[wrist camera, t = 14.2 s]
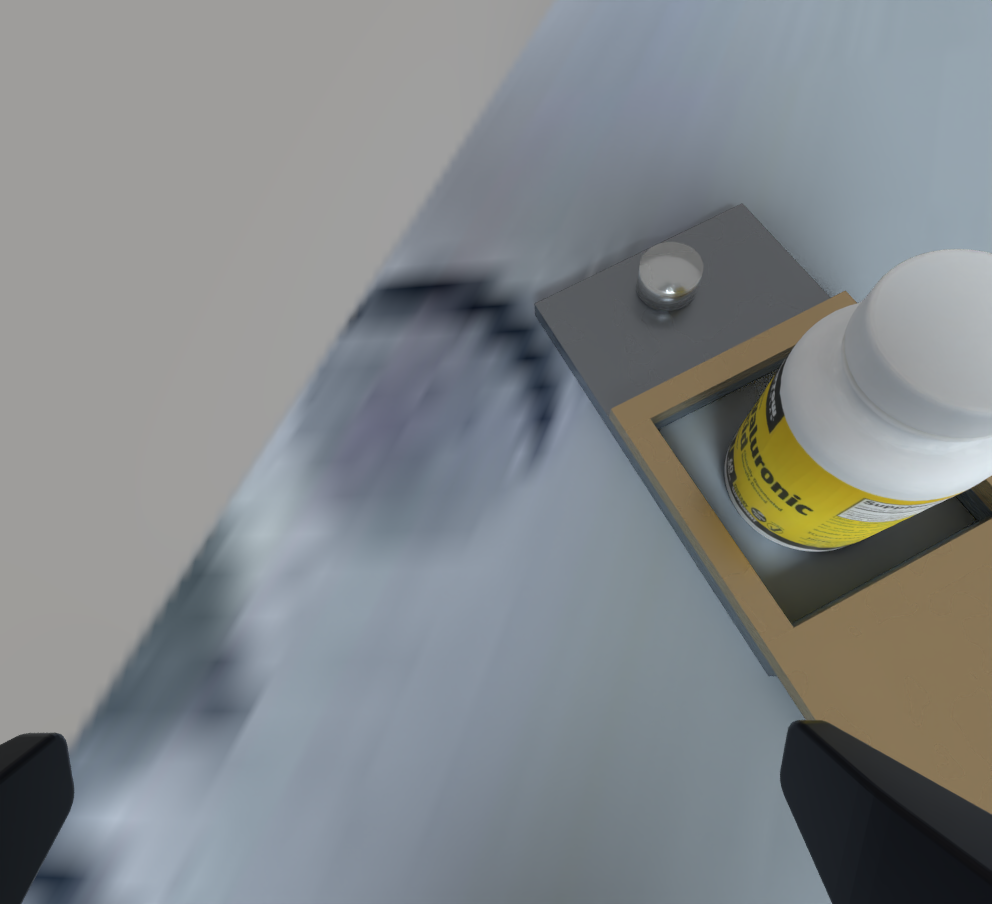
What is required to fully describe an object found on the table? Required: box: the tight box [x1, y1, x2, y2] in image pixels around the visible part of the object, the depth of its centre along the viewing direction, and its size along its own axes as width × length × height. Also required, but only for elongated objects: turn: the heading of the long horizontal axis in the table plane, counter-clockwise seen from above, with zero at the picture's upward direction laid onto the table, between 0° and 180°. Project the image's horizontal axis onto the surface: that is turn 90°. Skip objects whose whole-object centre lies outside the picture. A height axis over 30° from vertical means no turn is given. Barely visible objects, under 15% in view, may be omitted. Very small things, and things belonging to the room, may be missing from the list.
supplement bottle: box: [725, 249, 992, 552], centre depth 16 cm, size 5×5×10 cm
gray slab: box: [535, 204, 992, 814], centre depth 20 cm, size 22×10×2 cm, turn 27°
